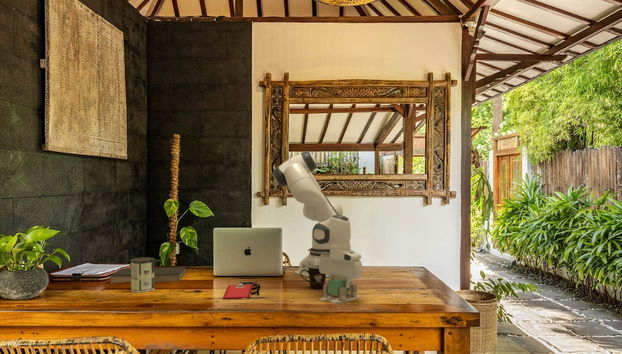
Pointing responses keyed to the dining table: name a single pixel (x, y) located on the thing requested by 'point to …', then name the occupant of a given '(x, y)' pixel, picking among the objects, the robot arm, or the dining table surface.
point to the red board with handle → (241, 290)
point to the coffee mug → (315, 277)
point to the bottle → (337, 285)
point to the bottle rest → (340, 295)
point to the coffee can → (142, 274)
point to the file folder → (159, 275)
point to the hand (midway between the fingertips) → (340, 286)
